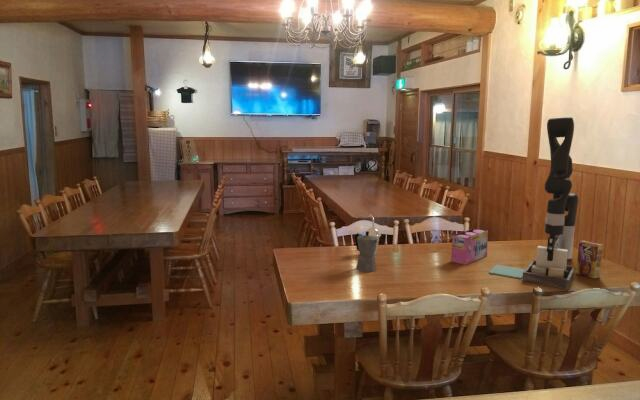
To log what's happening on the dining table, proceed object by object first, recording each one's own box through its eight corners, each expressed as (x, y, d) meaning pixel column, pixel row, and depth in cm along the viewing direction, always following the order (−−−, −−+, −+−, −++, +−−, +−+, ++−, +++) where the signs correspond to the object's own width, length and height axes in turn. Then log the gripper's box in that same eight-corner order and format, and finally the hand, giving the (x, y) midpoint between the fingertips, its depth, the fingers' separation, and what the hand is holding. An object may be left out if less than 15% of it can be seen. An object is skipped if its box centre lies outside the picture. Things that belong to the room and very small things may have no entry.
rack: (530, 270, 227) (531, 259, 227) (573, 277, 218) (574, 266, 217) (522, 281, 212) (523, 270, 211) (568, 289, 202) (569, 277, 201)
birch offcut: (548, 281, 212) (550, 265, 211) (563, 283, 209) (564, 267, 208) (547, 283, 209) (548, 267, 208) (561, 286, 206) (563, 270, 205)
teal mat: (496, 265, 233) (496, 264, 233) (527, 271, 226) (527, 269, 226) (488, 273, 222) (488, 272, 222) (521, 279, 214) (521, 277, 214)
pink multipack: (474, 252, 257) (476, 227, 254) (488, 255, 251) (490, 230, 249) (450, 261, 240) (452, 234, 238) (465, 265, 235) (466, 237, 232)
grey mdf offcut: (532, 278, 216) (533, 265, 215) (545, 280, 213) (547, 267, 212) (530, 280, 213) (531, 267, 212) (544, 283, 210) (545, 269, 209)
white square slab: (536, 273, 223) (538, 245, 221) (565, 277, 217) (568, 249, 214) (534, 275, 220) (537, 247, 218) (564, 280, 214) (566, 251, 212)
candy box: (600, 277, 218) (603, 244, 215) (594, 279, 215) (598, 245, 213) (581, 272, 225) (584, 240, 223) (575, 273, 223) (578, 241, 221)
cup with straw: (362, 255, 250) (363, 216, 247) (365, 250, 258) (366, 213, 255) (378, 256, 247) (379, 218, 244) (381, 251, 256) (383, 214, 253)
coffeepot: (383, 271, 224) (384, 233, 221) (367, 274, 219) (368, 235, 216) (362, 262, 236) (363, 226, 233) (346, 265, 231) (347, 228, 228)
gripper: (548, 219, 222) (544, 253, 225) (542, 224, 211) (539, 260, 213) (566, 221, 218) (562, 256, 221) (561, 226, 206) (558, 263, 209)
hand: (551, 258), depth 217 cm, fingers open, 8 cm apart
